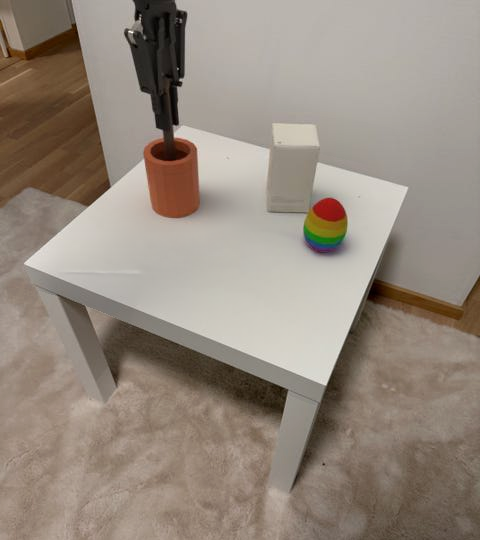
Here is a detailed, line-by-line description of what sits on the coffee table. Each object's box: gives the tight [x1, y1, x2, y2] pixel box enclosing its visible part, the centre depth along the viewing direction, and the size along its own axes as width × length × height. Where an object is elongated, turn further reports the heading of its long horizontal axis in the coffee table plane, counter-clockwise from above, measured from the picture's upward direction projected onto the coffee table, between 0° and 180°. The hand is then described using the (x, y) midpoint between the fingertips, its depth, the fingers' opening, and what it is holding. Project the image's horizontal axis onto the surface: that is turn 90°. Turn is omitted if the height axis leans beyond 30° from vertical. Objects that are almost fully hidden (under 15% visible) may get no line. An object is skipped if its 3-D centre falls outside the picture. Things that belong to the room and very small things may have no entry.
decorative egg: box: [302, 197, 349, 253], centre depth 83 cm, size 8×8×10 cm
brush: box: [162, 75, 176, 161], centre depth 83 cm, size 4×4×23 cm
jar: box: [142, 137, 201, 219], centre depth 90 cm, size 10×10×12 cm
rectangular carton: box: [266, 122, 321, 214], centre depth 90 cm, size 9×9×15 cm
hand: (167, 126), depth 81 cm, fingers closed on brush, 2 cm apart
